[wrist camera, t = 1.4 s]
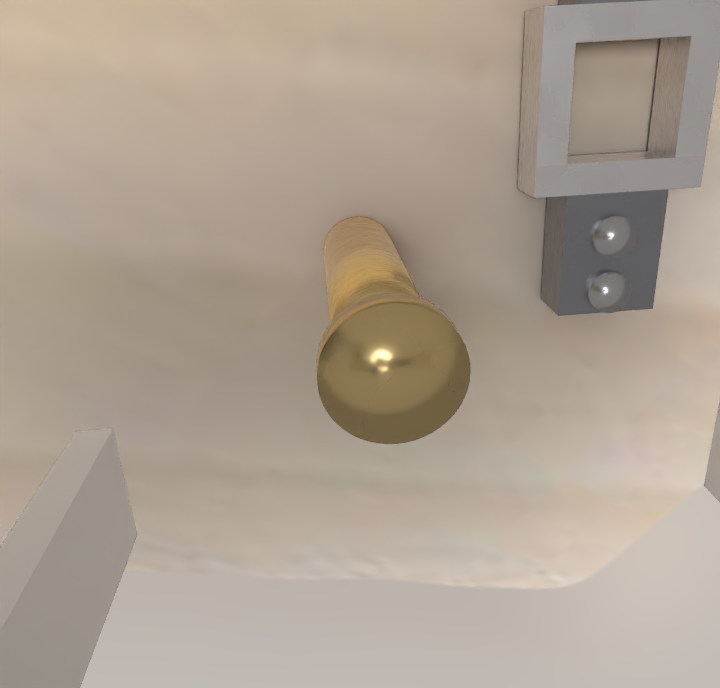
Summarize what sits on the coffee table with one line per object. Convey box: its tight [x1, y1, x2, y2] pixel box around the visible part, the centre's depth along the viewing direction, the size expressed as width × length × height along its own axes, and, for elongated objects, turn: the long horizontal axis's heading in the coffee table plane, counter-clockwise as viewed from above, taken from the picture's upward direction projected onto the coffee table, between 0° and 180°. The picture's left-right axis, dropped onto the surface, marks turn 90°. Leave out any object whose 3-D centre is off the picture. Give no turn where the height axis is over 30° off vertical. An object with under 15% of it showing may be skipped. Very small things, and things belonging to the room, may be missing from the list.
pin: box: [317, 217, 470, 444], centre depth 24 cm, size 4×4×14 cm
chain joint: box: [518, 0, 720, 316], centre depth 27 cm, size 18×7×3 cm, turn 3°
